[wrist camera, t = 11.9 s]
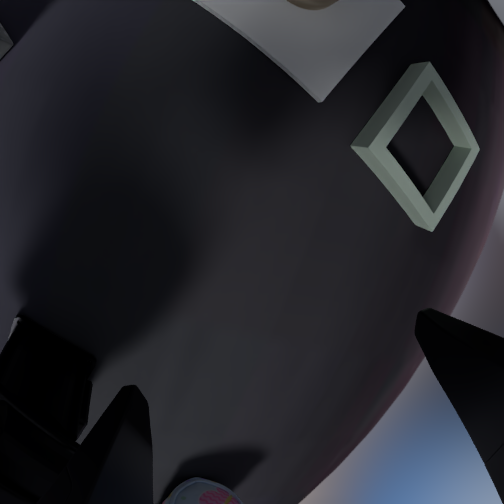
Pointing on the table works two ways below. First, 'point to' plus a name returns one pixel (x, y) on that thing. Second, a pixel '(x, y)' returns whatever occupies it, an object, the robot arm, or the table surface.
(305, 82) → the rubber mat
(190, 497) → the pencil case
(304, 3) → the ash peg
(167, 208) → the table surface
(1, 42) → the skincare box
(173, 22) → the table surface
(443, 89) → the green collar
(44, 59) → the table surface
